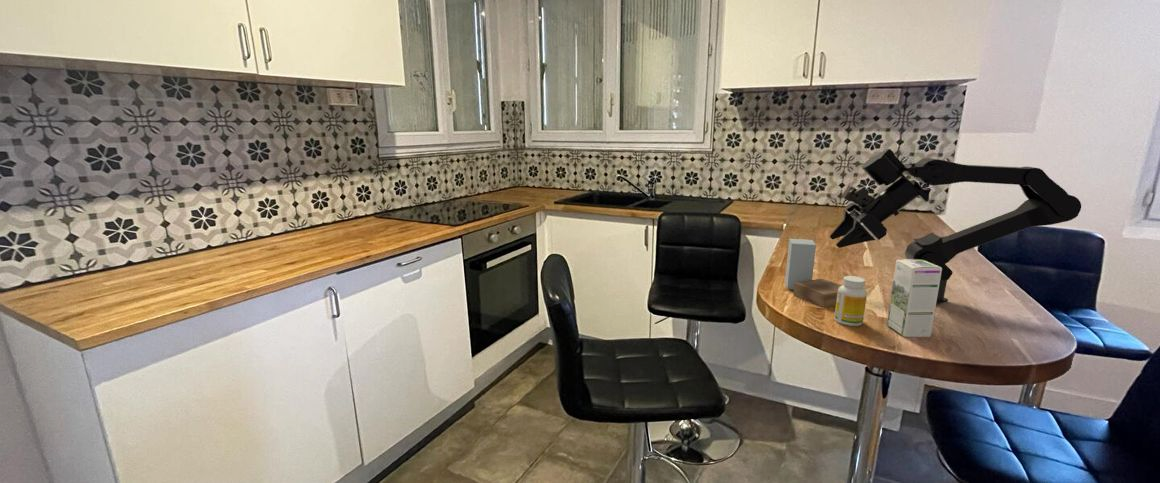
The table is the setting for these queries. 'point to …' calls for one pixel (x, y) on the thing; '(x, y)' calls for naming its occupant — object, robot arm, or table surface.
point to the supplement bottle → (851, 301)
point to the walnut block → (817, 291)
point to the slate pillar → (799, 261)
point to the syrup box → (914, 297)
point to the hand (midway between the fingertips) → (833, 242)
